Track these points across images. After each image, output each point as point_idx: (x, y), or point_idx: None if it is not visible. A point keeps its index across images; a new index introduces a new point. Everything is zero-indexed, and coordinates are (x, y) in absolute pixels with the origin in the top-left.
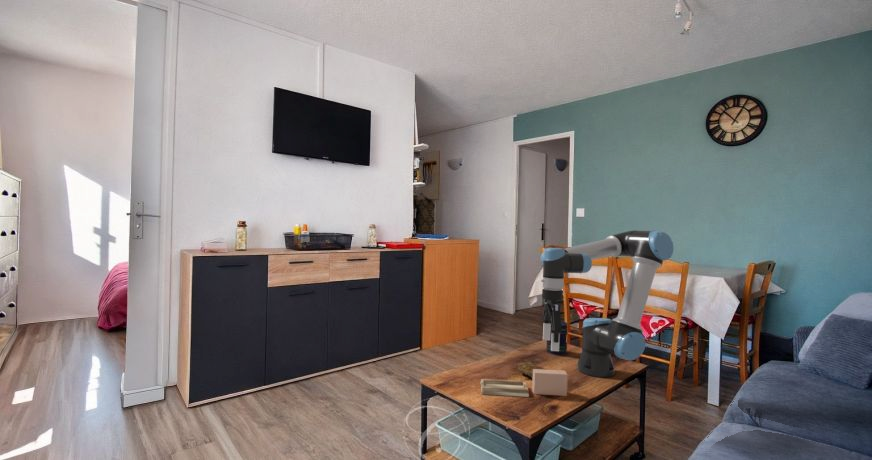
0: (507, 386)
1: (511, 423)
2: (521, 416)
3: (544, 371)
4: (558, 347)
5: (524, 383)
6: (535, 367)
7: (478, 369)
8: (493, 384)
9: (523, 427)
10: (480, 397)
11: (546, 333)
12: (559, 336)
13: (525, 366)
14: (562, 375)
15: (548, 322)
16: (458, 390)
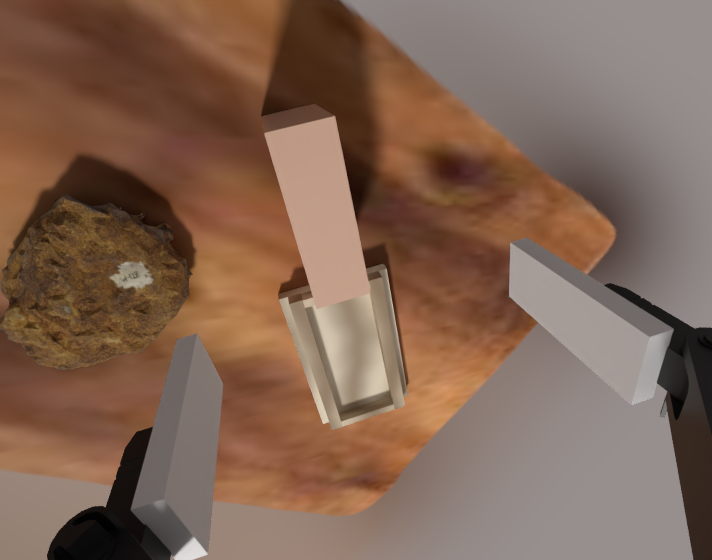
0: (338, 345)
1: None
2: None
3: (332, 252)
4: (548, 256)
5: None
6: (79, 288)
7: None
8: (338, 386)
9: (589, 251)
10: (426, 386)
11: (207, 414)
12: (635, 307)
13: (110, 334)
14: (340, 148)
15: (142, 542)
16: (395, 442)
